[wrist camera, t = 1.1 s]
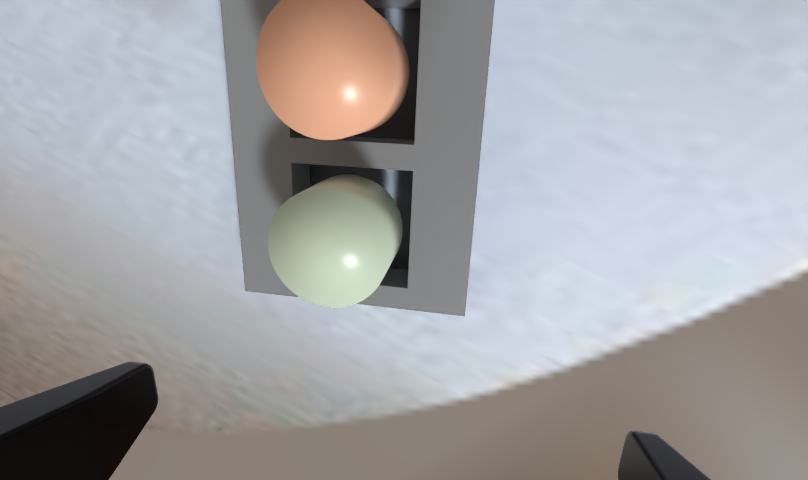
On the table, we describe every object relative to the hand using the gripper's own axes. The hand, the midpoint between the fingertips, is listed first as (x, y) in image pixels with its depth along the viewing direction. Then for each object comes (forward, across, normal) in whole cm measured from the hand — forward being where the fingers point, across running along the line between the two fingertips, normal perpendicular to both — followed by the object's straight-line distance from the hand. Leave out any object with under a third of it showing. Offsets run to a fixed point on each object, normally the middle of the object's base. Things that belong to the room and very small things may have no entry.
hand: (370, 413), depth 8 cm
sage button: (+10, +3, 0) cm, 11 cm away
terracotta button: (+10, +3, -6) cm, 12 cm away
